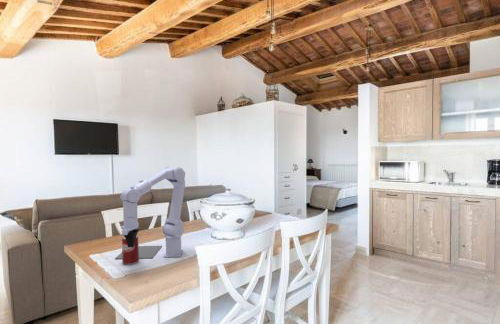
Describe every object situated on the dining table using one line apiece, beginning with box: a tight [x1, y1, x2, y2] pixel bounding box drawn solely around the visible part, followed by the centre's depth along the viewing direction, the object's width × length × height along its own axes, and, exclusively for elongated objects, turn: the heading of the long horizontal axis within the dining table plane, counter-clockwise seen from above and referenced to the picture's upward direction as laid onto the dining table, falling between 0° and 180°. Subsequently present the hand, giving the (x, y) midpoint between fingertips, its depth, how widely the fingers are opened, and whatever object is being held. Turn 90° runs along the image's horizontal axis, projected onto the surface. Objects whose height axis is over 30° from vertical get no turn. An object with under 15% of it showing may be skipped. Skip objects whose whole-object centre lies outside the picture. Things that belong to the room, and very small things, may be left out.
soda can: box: [121, 235, 140, 266], centre depth 138 cm, size 7×7×12 cm
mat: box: [114, 245, 163, 260], centre depth 151 cm, size 18×18×1 cm
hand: (131, 246), depth 129 cm, fingers closed
